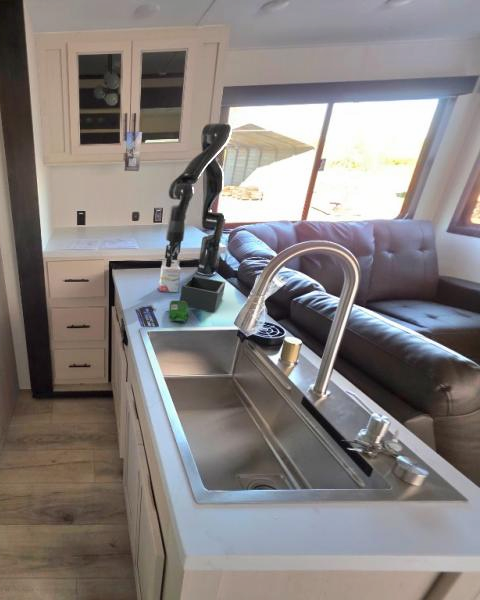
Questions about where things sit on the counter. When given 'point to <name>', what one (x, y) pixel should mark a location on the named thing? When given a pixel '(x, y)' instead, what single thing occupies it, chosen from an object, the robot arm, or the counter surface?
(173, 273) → the ink cartridge box
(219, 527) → the counter surface
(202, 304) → the waste bin
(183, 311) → the snack package
